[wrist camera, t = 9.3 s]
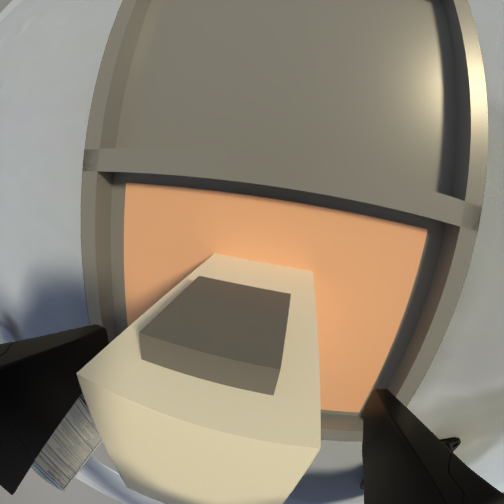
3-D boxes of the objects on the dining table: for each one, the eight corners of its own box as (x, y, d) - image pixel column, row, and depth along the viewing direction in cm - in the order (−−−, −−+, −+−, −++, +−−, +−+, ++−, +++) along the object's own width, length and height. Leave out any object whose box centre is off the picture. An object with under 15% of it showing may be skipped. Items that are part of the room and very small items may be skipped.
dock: (379, 423, 13) (382, 441, 11) (113, 366, 15) (101, 378, 14) (452, -1, 6) (462, -13, 4) (153, -28, 8) (142, -40, 7)
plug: (288, 369, 12) (262, 528, 4) (206, 352, 13) (126, 487, 5) (315, 256, 10) (333, 424, 3) (215, 239, 11) (68, 346, 3)
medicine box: (40, 363, 18) (-17, 410, 10) (62, 364, 17) (-4, 422, 8) (83, 426, 19) (39, 477, 11) (110, 433, 18) (64, 494, 10)
